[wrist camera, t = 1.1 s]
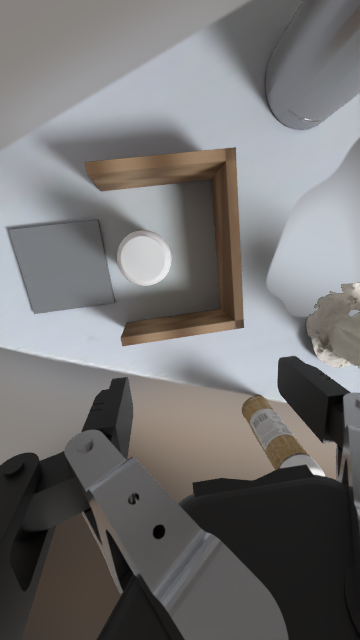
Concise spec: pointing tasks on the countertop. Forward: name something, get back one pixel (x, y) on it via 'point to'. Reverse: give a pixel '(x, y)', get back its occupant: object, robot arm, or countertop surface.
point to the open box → (226, 221)
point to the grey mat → (63, 265)
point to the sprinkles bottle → (276, 436)
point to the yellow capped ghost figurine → (337, 327)
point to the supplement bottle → (144, 257)
